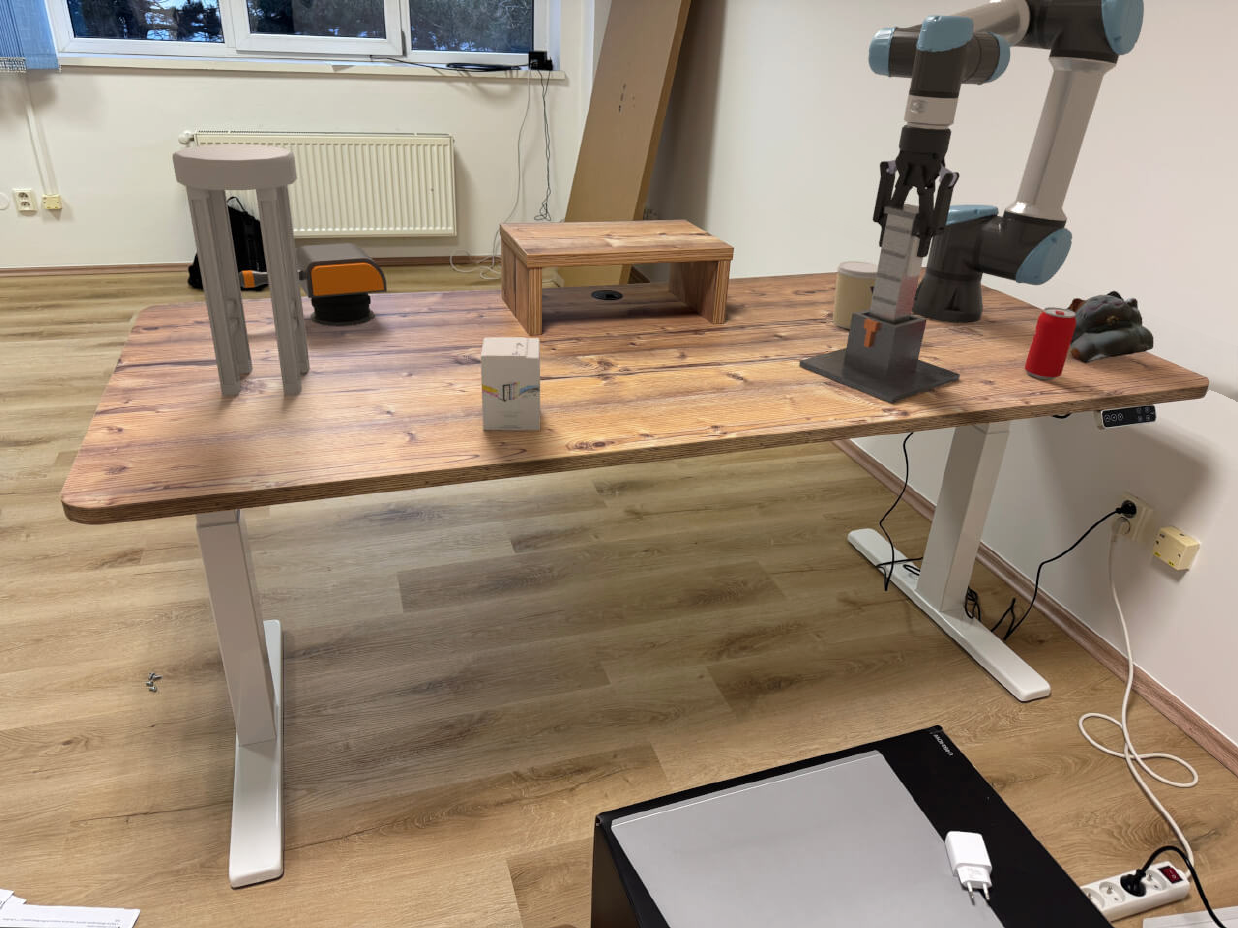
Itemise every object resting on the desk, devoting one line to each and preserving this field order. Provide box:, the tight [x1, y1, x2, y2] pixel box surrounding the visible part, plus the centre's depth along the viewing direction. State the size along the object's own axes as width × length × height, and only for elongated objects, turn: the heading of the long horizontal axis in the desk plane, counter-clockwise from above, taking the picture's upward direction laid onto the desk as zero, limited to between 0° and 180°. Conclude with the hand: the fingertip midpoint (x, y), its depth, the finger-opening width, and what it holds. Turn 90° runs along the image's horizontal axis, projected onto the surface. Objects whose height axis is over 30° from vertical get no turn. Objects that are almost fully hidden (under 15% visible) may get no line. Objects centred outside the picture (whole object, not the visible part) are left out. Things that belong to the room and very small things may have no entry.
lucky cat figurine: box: [1066, 290, 1154, 365], centre depth 168 cm, size 15×12×14 cm
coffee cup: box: [832, 260, 878, 330], centre depth 178 cm, size 9×9×12 cm
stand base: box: [798, 309, 961, 404], centre depth 154 cm, size 20×20×10 cm
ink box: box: [480, 336, 541, 431], centre depth 128 cm, size 9×8×12 cm
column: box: [869, 203, 922, 325], centre depth 148 cm, size 6×6×21 cm
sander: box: [238, 242, 388, 328], centre depth 164 cm, size 15×25×13 cm, turn 117°
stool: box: [172, 143, 311, 397], centre depth 131 cm, size 16×16×35 cm
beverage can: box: [1024, 306, 1076, 380], centre depth 157 cm, size 6×6×12 cm
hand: (898, 271), depth 148 cm, fingers closed on column, 5 cm apart
